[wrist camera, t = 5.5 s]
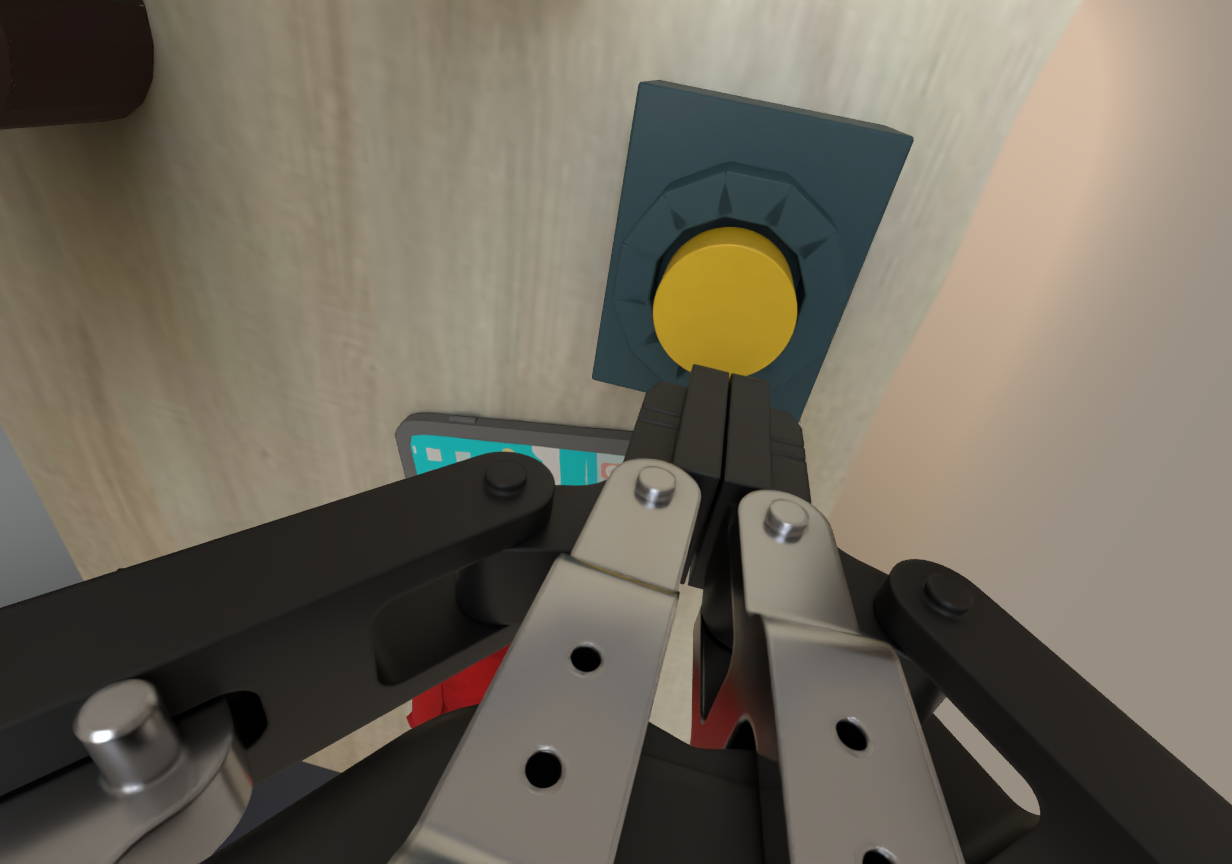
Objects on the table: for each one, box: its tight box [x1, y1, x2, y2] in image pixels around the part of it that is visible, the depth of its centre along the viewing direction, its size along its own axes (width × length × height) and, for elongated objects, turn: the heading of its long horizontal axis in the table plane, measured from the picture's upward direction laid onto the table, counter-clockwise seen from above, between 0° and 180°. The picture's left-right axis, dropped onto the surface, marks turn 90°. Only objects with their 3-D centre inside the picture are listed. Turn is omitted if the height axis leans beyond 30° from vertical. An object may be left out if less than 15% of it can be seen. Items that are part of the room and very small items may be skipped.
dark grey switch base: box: [592, 80, 914, 423], centre depth 20 cm, size 10×8×6 cm
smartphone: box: [395, 413, 633, 485], centre depth 30 cm, size 9×1×15 cm
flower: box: [117, 568, 511, 728], centre depth 34 cm, size 9×10×30 cm
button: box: [653, 227, 797, 378], centre depth 17 cm, size 4×4×2 cm
